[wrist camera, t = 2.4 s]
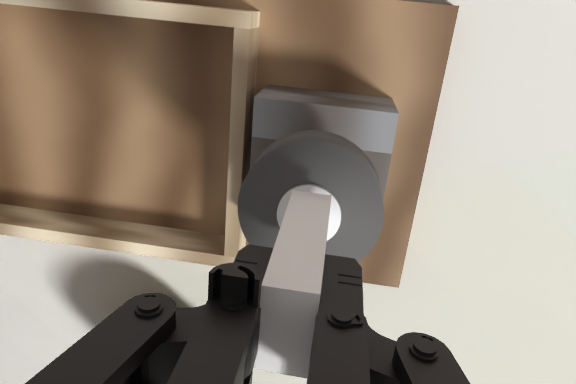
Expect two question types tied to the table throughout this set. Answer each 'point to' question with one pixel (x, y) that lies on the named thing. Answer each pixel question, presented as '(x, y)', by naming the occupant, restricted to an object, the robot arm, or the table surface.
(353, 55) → the board
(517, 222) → the table surface
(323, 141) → the wheel
